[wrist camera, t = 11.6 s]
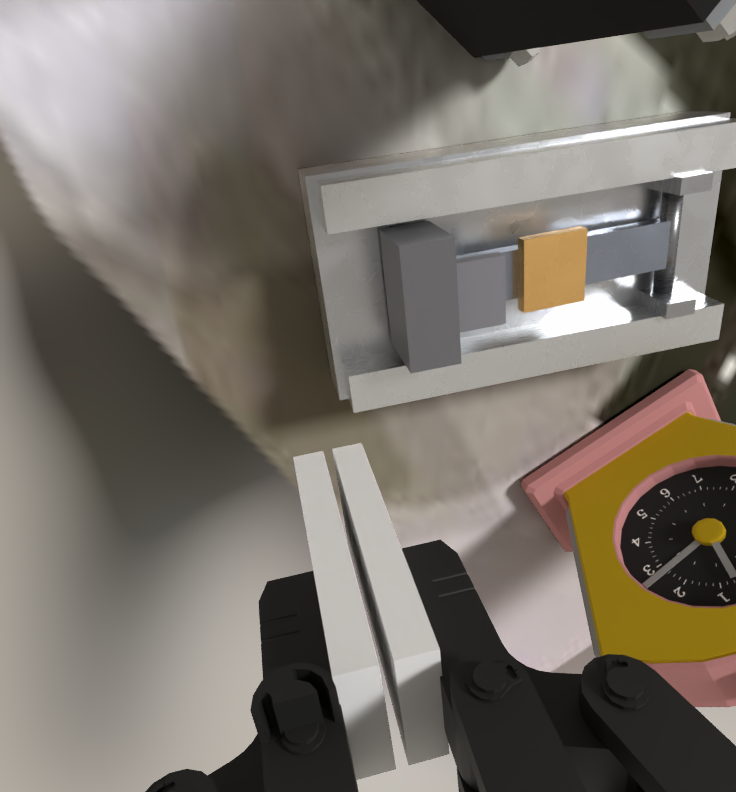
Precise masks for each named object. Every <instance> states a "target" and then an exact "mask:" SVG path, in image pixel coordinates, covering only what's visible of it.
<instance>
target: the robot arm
mask: <svg viewBox="0 0 736 792" xmlns="http://www.w3.org/2000/svg"><path fill="white" fill-rule="evenodd" d="M332 451H333V457H334V463H335V469H336V474H337V480H338V486H339V492H340V498H341V504H342V510H343V515H344V521H345V527H346V533H347V537H348V541H349V544H350V548H351V552H352V556H353V559H354V563H355V567H356V570H357V574H358V578H359V582H360V585H361V589H362V593H363V597H364V600H365V604H366V608H367V612H368V615H369V619H370V623H371V627H372V630H373V634H374V638H375V641H376V645H377V649H378V653H379V656H380V660H381V664H382V667H383V671H384V675H385V679H386V683H387V686H388V690H389V694H390V697H391V701H392V705H393V708H394V712H395V716H396V719H397V723H398V727H399V731H400V735H401V739H402V742H403V746H404V750H405V754H406V757H407V761H408V764H409V765H412V764H415V763H418V762H422V761H426V760H430V759H433V758H436V757H440V756H444V755H447V754H449V745H448V742H449V744H450V748H451V751H452V754H453V757H454V759H455V762H456V765H457V775H458V787H459V792H736V746H735V745H734V744H733V743H732V742H731V741H730V740H729V739H728V738H726V737H725V735H723V734H722V733H721V732H720V731H719V730H718V729H717V728H716V727H715V726H714V725H713V724H712V723H710V721H709V720H707V719H706V718H705V717H704V716H703V715H702V714H701V713H700V712H699V711H698V710H697V709H696V708H695V707H694V706H693V705H691V704H690V703H689V702H688V701H687V700H686V699H685V698H684V697H683V696H682V695H681V694H680V693H679V692H678V691H677V690H675V689H674V688H673V687H672V686H671V685H670V684H669V683H668V682H667V681H666V680H665V679H664V678H663V677H662V676H661V675H659V674H658V673H657V672H656V671H655V670H654V669H652V668H651V667H649V666H648V665H647V664H645V663H644V662H642V661H641V660H638V659H635V658H632V657H629V656H626V655H618V654H607V655H603V656H600V657H596V658H594V659H593V660H592V661H590V662H589V663H588V664H587V665H586V666H585V667H584V670H583V673H582V674H566V673H550V672H543V671H538V670H535V669H533V668H530V667H527V666H525V665H524V664H522V663H520V662H519V661H517V660H516V659H515V658H514V657H513V656H511V655H510V654H509V653H508V651H507V650H506V648H505V647H504V645H503V644H502V642H501V640H500V638H499V636H498V634H497V632H496V630H495V628H494V626H493V624H492V622H491V620H490V618H489V616H488V614H487V612H486V610H485V608H484V606H483V604H482V602H481V600H480V598H479V596H478V594H477V592H476V590H475V589H474V586H473V584H472V582H471V580H470V578H469V576H468V575H467V573H466V570H465V568H464V566H463V564H462V562H461V560H460V558H459V556H458V554H457V553H456V552H455V551H454V550H453V549H451V548H450V547H449V546H448V545H446V544H445V543H444V542H443V541H441V540H437V541H433V542H428V543H424V544H420V545H415V546H411V547H407V548H403V549H402V548H401V546H400V543H399V540H398V538H397V535H396V532H395V530H394V527H393V525H392V522H391V519H390V517H389V514H388V511H387V509H386V506H385V503H384V501H383V498H382V496H381V493H380V490H379V488H378V485H377V482H376V480H375V477H374V475H373V472H372V469H371V467H370V464H369V461H368V459H367V456H366V453H365V451H364V448H363V446H362V443H359V444H354V445H349V446H344V447H339V448H335V449H332ZM293 459H294V464H295V470H296V475H297V481H298V487H299V492H300V497H301V504H302V509H303V515H304V521H305V526H306V532H307V538H308V543H309V549H310V555H311V560H312V566H313V571H311V572H306V573H302V574H298V575H294V576H290V577H285V578H280V579H276V580H272V581H268V582H267V584H266V586H265V589H264V591H263V593H262V595H261V598H260V600H259V615H260V626H261V627H260V632H261V642H262V644H261V650H262V667H263V681H262V682H261V683H260V685H259V686H258V688H257V690H256V692H255V693H254V695H253V699H252V705H251V713H252V717H253V720H254V723H255V726H256V729H257V732H258V734H257V736H256V737H255V739H254V741H253V742H252V743H251V744H250V745H249V746H248V748H247V749H246V750H245V751H244V752H243V753H241V754H240V755H239V756H237V757H236V758H235V759H233V760H232V761H230V762H229V763H227V764H226V765H224V766H222V767H221V768H219V769H217V770H216V771H214V772H213V773H211V774H209V775H208V776H207V775H206V774H204V773H203V772H201V771H196V770H190V769H185V770H181V771H176V772H172V773H169V774H167V775H166V776H164V777H163V778H161V779H159V780H158V781H156V782H154V783H153V784H152V785H151V786H150V787H149V788H148V790H147V791H146V792H358V787H357V782H356V780H358V779H362V778H365V777H369V776H372V775H376V774H379V773H383V772H387V771H390V770H394V769H396V766H395V760H394V754H393V748H392V741H391V735H390V729H389V724H388V723H389V722H388V717H387V710H386V703H385V697H384V691H383V684H382V678H381V672H380V666H379V662H378V658H377V654H376V650H375V646H374V642H373V639H372V635H371V632H370V627H369V624H368V620H367V616H366V612H365V608H364V605H363V601H362V597H361V593H360V589H359V586H358V582H357V579H356V574H355V570H354V567H353V563H352V559H351V555H350V551H349V548H348V544H347V540H346V536H345V532H344V529H343V525H342V521H341V517H340V513H339V510H338V506H337V502H336V498H335V494H334V491H333V487H332V483H331V479H330V476H329V472H328V468H327V464H326V460H325V457H324V453H323V451H320V452H315V453H311V454H306V455H301V456H296V457H293Z"/></svg>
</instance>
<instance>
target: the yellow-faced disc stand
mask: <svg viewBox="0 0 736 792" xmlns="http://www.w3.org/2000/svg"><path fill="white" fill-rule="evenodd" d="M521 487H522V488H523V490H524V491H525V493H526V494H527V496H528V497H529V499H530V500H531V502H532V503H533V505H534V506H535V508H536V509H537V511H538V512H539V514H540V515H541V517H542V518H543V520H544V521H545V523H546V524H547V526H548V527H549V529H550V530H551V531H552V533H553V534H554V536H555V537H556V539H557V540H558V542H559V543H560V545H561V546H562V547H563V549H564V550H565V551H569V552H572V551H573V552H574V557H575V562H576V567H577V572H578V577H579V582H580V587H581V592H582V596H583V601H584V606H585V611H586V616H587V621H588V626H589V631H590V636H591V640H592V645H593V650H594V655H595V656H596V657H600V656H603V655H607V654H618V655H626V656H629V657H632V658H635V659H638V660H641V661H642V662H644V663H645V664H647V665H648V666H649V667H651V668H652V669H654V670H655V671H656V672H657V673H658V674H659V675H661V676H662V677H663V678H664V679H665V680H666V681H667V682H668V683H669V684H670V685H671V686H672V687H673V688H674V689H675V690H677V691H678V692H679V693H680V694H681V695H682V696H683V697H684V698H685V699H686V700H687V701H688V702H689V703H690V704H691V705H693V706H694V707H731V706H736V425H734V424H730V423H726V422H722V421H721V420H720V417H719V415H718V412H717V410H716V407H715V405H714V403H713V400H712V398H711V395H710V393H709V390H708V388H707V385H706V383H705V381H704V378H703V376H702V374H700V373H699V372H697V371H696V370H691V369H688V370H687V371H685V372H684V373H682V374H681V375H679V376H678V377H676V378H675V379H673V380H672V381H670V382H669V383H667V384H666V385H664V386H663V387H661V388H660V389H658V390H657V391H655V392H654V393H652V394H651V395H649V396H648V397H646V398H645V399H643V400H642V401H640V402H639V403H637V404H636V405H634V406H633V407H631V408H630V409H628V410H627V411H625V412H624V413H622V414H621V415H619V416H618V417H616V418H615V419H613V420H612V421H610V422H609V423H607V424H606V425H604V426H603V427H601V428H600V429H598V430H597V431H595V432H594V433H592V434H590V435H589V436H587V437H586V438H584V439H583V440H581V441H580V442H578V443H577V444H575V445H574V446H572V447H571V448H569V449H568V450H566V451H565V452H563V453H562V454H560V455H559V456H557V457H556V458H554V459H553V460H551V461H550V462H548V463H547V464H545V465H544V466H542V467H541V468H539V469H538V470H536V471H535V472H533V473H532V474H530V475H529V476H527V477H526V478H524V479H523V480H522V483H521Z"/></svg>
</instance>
